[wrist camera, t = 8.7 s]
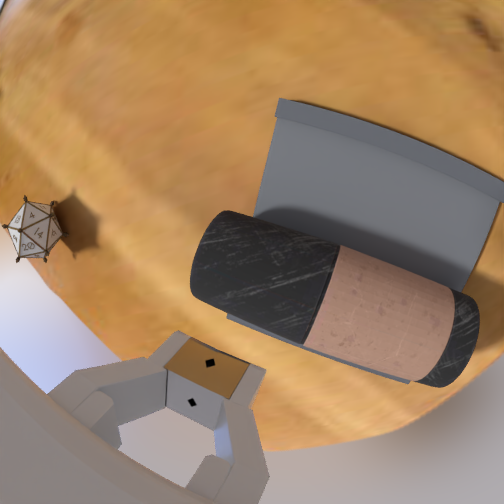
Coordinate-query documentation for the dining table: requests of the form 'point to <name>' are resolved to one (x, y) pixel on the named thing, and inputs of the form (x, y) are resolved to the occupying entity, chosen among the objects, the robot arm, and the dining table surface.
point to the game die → (34, 230)
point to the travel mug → (335, 299)
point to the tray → (375, 197)
